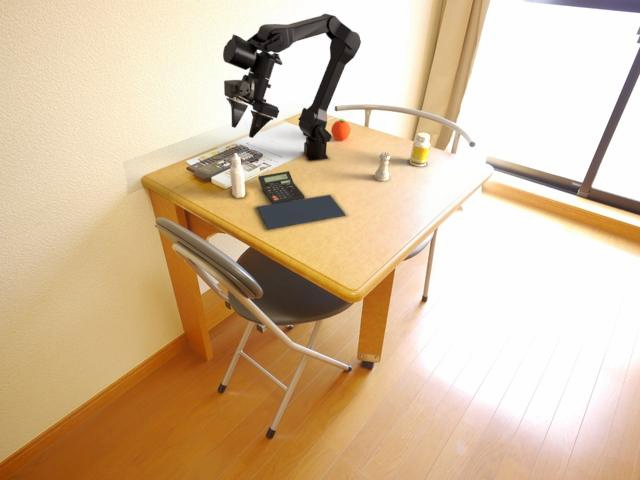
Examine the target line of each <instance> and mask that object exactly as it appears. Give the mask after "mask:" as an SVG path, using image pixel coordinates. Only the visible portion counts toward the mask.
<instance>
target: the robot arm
mask: <svg viewBox="0 0 640 480" xmlns="http://www.w3.org/2000/svg"><path fill="white" fill-rule="evenodd" d="M324 34H325V35H326V37H328V39H329V40H331V41H330V44H329V55H330V56H329V60H328V63H327V66H326V68H325V71H324V73H323V76H322V79H321V81H320V84H319V86H318V89H317V91H316V93H315V96H314V99H313V100H312V104H311V105H309V107H308V108H305V107H302V110H301V114H300V116H299V117H298V118H297V120H298V127H299V130H300V131H301V132H302V135H303V136H304V137H305V142H303V143H304V144H303V155H304V156H305V157H306V158H307V160H308V161H310V162H313V161H320V160H321V161H322V160H327V159H329V156H328V155H327V145H328V143H330V142H331V139H332V137H333V135H332V133H331V132H329V131H328V130H327V129H326V128H327V124H328V110H329V106H330V104H331V102H332V99H333V97H334V94H335V92H336V90H337V87H338V84H339V83H340V79H341V77H342V75H343V72H344V70H345V67H346V65H348V63H350V61H352V60H353V59H354V58H355V57H356V55H357V53H358V51H359V49H360V47H361V43H362V41H361V36H360V34H359V33H358V31H357V32H356V31H353V30H352V29H351V28H350V27H348V26H347V25H345V24H344V23H343V22H342V21H341V20H340V19H339V18H338V17H337V16H336V15H334V14H330V13H323V14H320V15H318V16H315V17H310V18H306V19H303V20H299V21H296V22H292V23H288V24H281V23H266V24H265V23H264V24H262V25H261V26H259V28H258V30H257V31H256V33H254V34H253V35H252V36H251V37H249V38H248V39H247V40H245V39H243V38H242V37H241V36H239V35H237V34H232V35H231V36H232V37H231V38H230V39H229V40H228V41H227V42H226V44H225V45H224V47H223V51H222V59H223V61H224V63H226V64H229V65H232V66H234V67H236V68H238V69H241V70H244V71H248V74H243V75H242V78H241V79H228V80H227V79H226V80H223V88H224V89H223V90H224V96H225V97H226V98H225V99H226V100H227V101H228V104H229V105H230V109H231V127H232V128H234V129H236V128H237V126H238V124H239V123H240V121H241V120H242V118H243V116H244V114H245V112H247V109H248V107H249V105H250V106H252V110H251V109H250V113H251V116H252V119H251V124H250V127H249V128H250V129H249V133H248V138H251V139H253V138H254V137H256V135H257V134H258V133H259V132H260V131H261V130H262V129H263V128H264V127H265V126H266V125H267V124H268V123H269V122H270V121H274V118H275V119H278V117H279V113H280V110H279V107H278V106H276V105H274V104H272V103H269V102H267V99H265V95H266V92H267V90H268V89H271V88H272V87H271V86H272V84H271V83H269V82H270V80H271V77H272V74H273V70H274V67H275V64H277V65H279V66H283V62H282V61H283V60H282V59H281V57H280V54H279V53H281V52H283V51H285V50H287V49H288V48H290V47H291V46H292V45H293V44H294V43H296V42H299V41H302V40H306V39H309V38H312V37H316V36H319V35H324ZM258 51H260V52H258Z"/></svg>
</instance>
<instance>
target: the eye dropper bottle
mask: <svg viewBox="0 0 640 480" xmlns="http://www.w3.org/2000/svg"><path fill="white" fill-rule="evenodd" d="M230 161H231V164H230V167H229V172H230V173H229V174H230V184H231V193H232V196H233V197H234V198H237V199H240V198H244V197H245V195H246V188H245V187H246V186H245V175H244V168H243V166H242V159H241V157H240V156H238V153H237V152H233V156H232V157H231V159H230Z"/></svg>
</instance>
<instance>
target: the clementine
mask: <svg viewBox="0 0 640 480" xmlns="http://www.w3.org/2000/svg"><path fill="white" fill-rule="evenodd" d="M351 129H352V128H351V126H350V124H349V122H347V121H346V120H345V119H339V120H336V121H335V122H333V124H332V125H331V129H330V134H331V135H332V137H333V138H334V139H335V140H337V141H344V140H346V139H348V138H349V136H350V135H351Z"/></svg>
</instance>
